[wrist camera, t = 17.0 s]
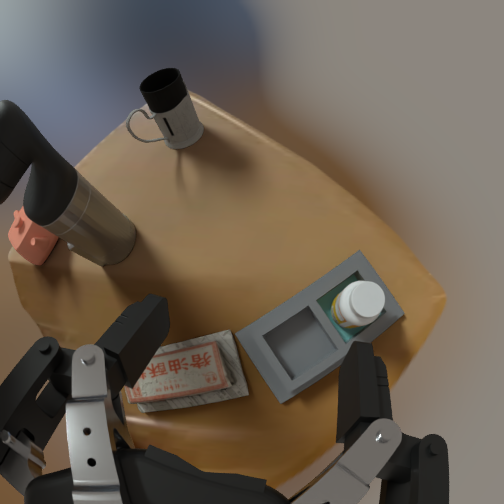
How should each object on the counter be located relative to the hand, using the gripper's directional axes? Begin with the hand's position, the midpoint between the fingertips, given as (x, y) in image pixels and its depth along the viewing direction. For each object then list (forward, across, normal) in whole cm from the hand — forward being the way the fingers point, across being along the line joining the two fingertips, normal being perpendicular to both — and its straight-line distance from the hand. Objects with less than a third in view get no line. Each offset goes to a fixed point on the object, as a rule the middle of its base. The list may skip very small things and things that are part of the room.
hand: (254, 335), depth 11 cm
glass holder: (+43, +26, -2) cm, 50 cm away
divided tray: (+21, -7, +17) cm, 28 cm away
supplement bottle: (+23, -10, +15) cm, 29 cm away
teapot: (+24, +51, +17) cm, 59 cm away
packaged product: (+14, +11, +26) cm, 32 cm away
